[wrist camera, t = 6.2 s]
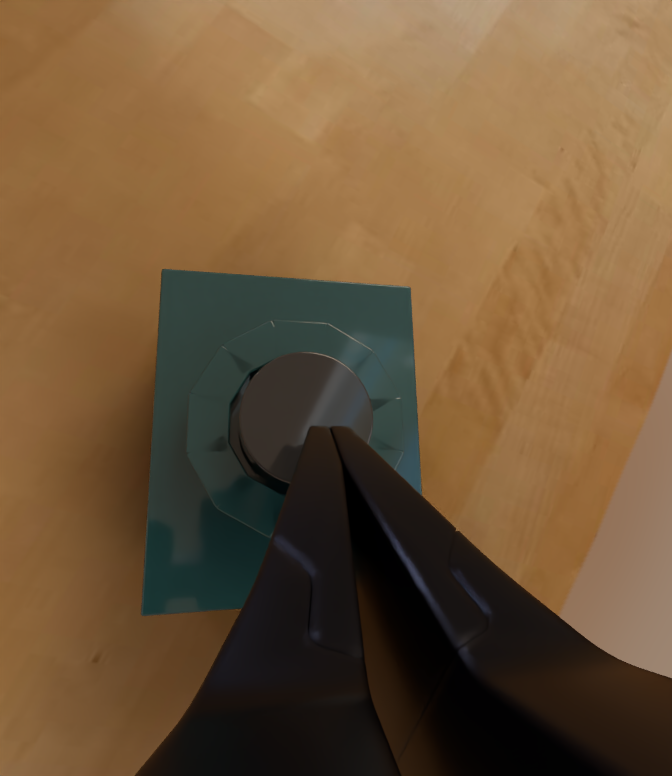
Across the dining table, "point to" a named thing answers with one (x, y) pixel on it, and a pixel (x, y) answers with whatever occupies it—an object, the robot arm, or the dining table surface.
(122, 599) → the dining table surface
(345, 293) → the teal push button box
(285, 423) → the dark brown button
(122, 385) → the dining table surface
